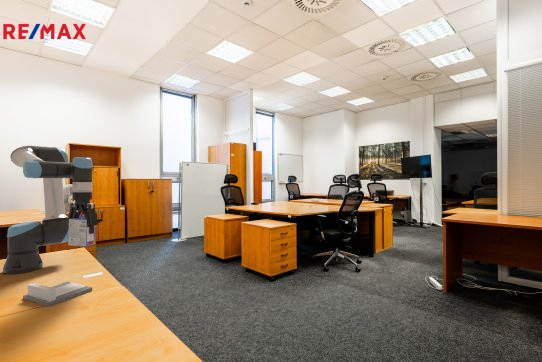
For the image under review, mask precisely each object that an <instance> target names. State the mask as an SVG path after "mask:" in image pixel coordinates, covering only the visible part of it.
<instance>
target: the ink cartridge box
mask: <svg viewBox="0 0 542 362" xmlns="http://www.w3.org/2000/svg"><path fill="white" fill-rule="evenodd" d="M94 223H95V222H94ZM90 224H91V223H90ZM87 226H88V225H87V220H86V219H85V216H84V214H83V213H81V214H80V217H79V218H72V219H69V240H68V246H72V247H73V246H74V247H90V246H94V245H96V226H97V225H95V226H94V240H93V241H89V242H87Z"/></svg>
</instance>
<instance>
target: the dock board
mask: <svg viewBox="0 0 542 362" xmlns="http://www.w3.org/2000/svg"><path fill="white" fill-rule="evenodd" d="M92 291H93V287H92V286H88V285H85V284H80V283H76V282H71V281H65V282H62V283H59V284H56V285H53V286H48V285H43V284H40V283H39V284H38V283H35V282H33V283H32V282H31V283H29V284H27V294H24V295H22V299H23V300H25V301H28V302H31V303H35V304H39V305H42V306H45V307H51V306H54V305H57V304H60V303H62V302H65V301H67V300H70V299H72V298H76V297H78V296H81V295H84V294H86V293H88V292H92Z"/></svg>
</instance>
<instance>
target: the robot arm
mask: <svg viewBox="0 0 542 362" xmlns="http://www.w3.org/2000/svg"><path fill="white" fill-rule="evenodd" d="M10 161H11V162H12V163H13V164H14V165H15V166H17V167H19V168H22V173H23V176H24V177H25V178H27V179H42V182H43V183H42V184H43V197H44V199H43V200H44V202H43V203H44V213H45V217H44V218H43V219H42V220H41V223H39V221H38V220H37V221H26V222H21V223H17V224H13V225H11V226H9V227H8V229H7V235H6V238H7V257H6V260H5V261H4V264H3V267H2V273H3V274H4V273H6V275H12V274H13V275H15V274H17V275H18V274H23V273H29V272H33V271H36V270H39V269H41V268H43V267H42V266H44V261H43V259H42V257H41V255H40V252H39V247H43V246H49V245H58V244H62V243H67V242H68V240H69V219H72V218H80V216H81V214H82V213H83V214H84V215H83V216H85V219H86V220H87V225H88V226H87V242H89V241H93V240H94V226H95V225H96V226H98V224H99V222H98V217H97V211H96V204H95V203H91V200H93V192H92V191H93V159H92V158H91V157H79V156H77V157H73V158H72V162H70V161H69V155H68V153H67V151H66V150H65V149H63V148H62V147H54V146H53V147H52V146H51V147H49V146H40V145H39V146H37V145H24V146H19V147H17V148H16V149H14V150H13V151H12V152H11V153H10ZM63 179H72V195H71V197H72V200H73V201H74V202H70V203H69V212H68V215H66V209H65V207H66V206H65V195H64V183H63ZM94 222H95V223H94ZM90 223H91V224H90Z"/></svg>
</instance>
